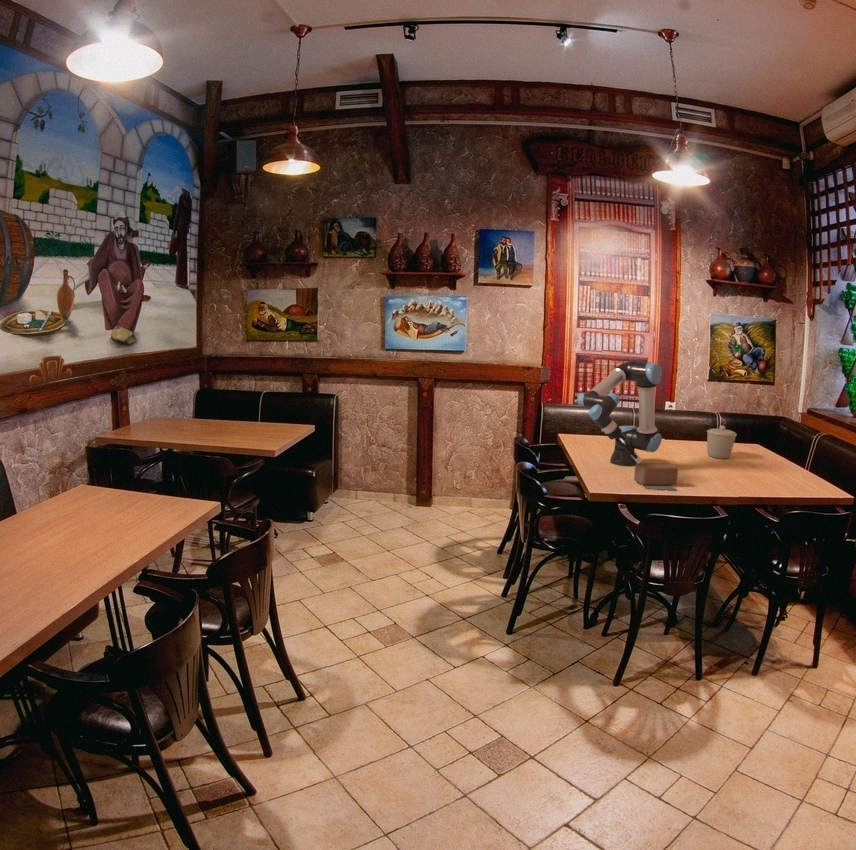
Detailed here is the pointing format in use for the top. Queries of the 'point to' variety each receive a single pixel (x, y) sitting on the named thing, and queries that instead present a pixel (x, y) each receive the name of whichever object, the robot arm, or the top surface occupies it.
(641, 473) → the wooden block
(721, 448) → the canister
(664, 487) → the mat
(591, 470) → the top surface
